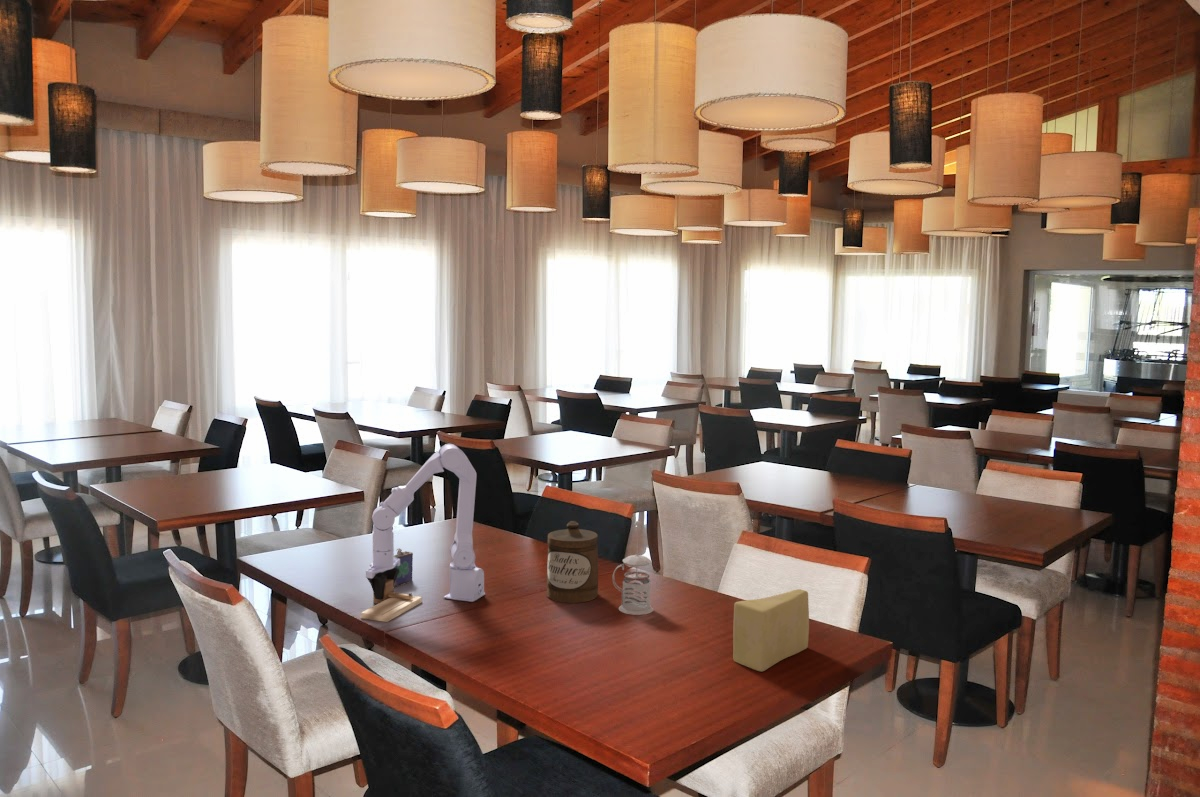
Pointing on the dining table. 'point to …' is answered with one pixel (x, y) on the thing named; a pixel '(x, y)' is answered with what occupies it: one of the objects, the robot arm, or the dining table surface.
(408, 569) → the flask
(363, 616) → the board
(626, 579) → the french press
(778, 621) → the cheese
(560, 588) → the wooden container
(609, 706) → the dining table surface
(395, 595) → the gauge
